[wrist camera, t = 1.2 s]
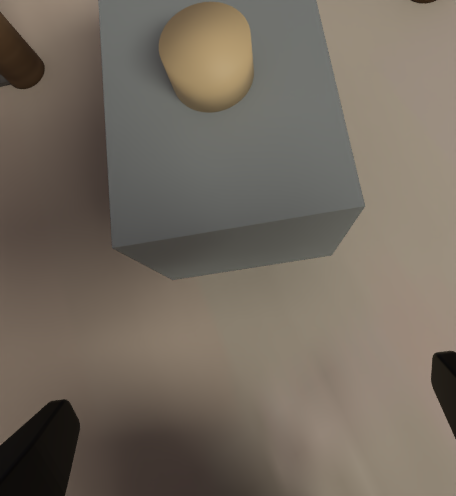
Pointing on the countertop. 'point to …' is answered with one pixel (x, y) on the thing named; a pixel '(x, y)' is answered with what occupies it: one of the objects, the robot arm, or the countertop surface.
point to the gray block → (223, 135)
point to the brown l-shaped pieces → (27, 57)
